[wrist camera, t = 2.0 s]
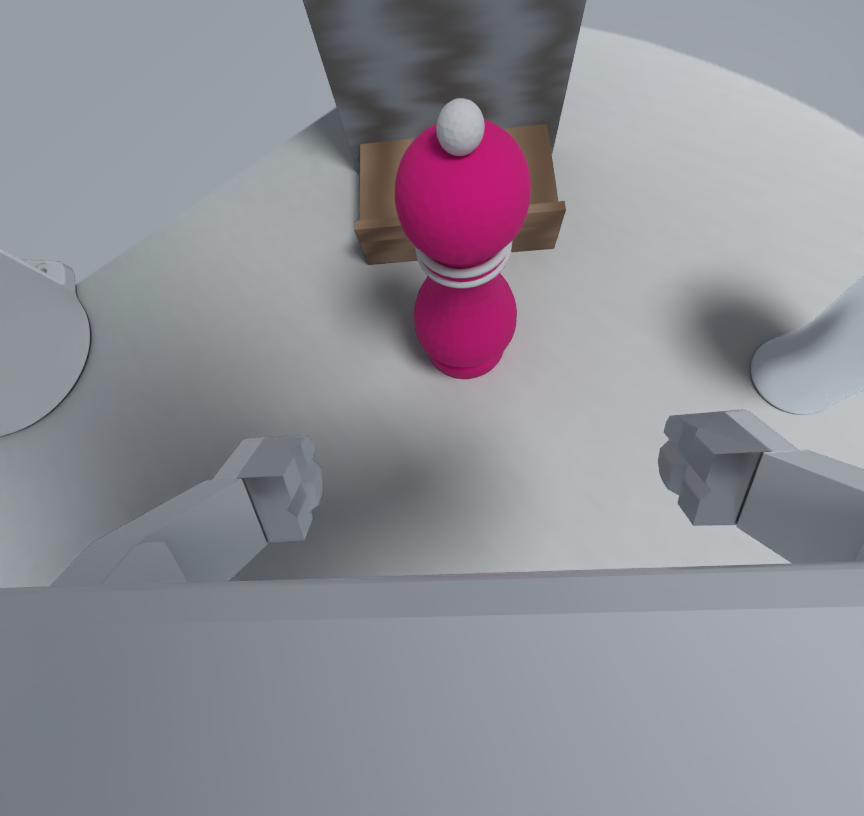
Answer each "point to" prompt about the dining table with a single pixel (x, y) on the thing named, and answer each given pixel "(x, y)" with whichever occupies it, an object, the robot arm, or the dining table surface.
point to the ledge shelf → (446, 92)
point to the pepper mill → (463, 235)
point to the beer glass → (815, 359)
